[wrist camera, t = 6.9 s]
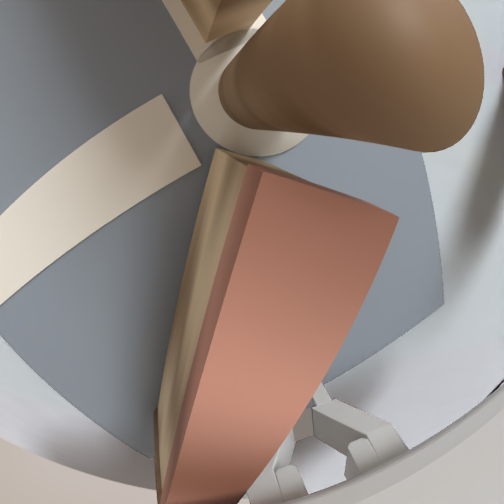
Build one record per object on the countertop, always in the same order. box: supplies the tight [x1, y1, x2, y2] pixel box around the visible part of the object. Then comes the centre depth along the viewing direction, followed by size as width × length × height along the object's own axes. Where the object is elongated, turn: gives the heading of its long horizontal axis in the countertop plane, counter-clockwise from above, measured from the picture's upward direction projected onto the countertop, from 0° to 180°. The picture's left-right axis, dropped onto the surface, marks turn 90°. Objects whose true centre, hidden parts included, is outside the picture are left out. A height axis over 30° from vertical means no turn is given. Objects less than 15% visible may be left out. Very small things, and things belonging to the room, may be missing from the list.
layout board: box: [0, 0, 444, 458], centre depth 8 cm, size 24×18×1 cm
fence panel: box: [153, 148, 400, 504], centre depth 7 cm, size 12×2×6 cm, turn 163°
